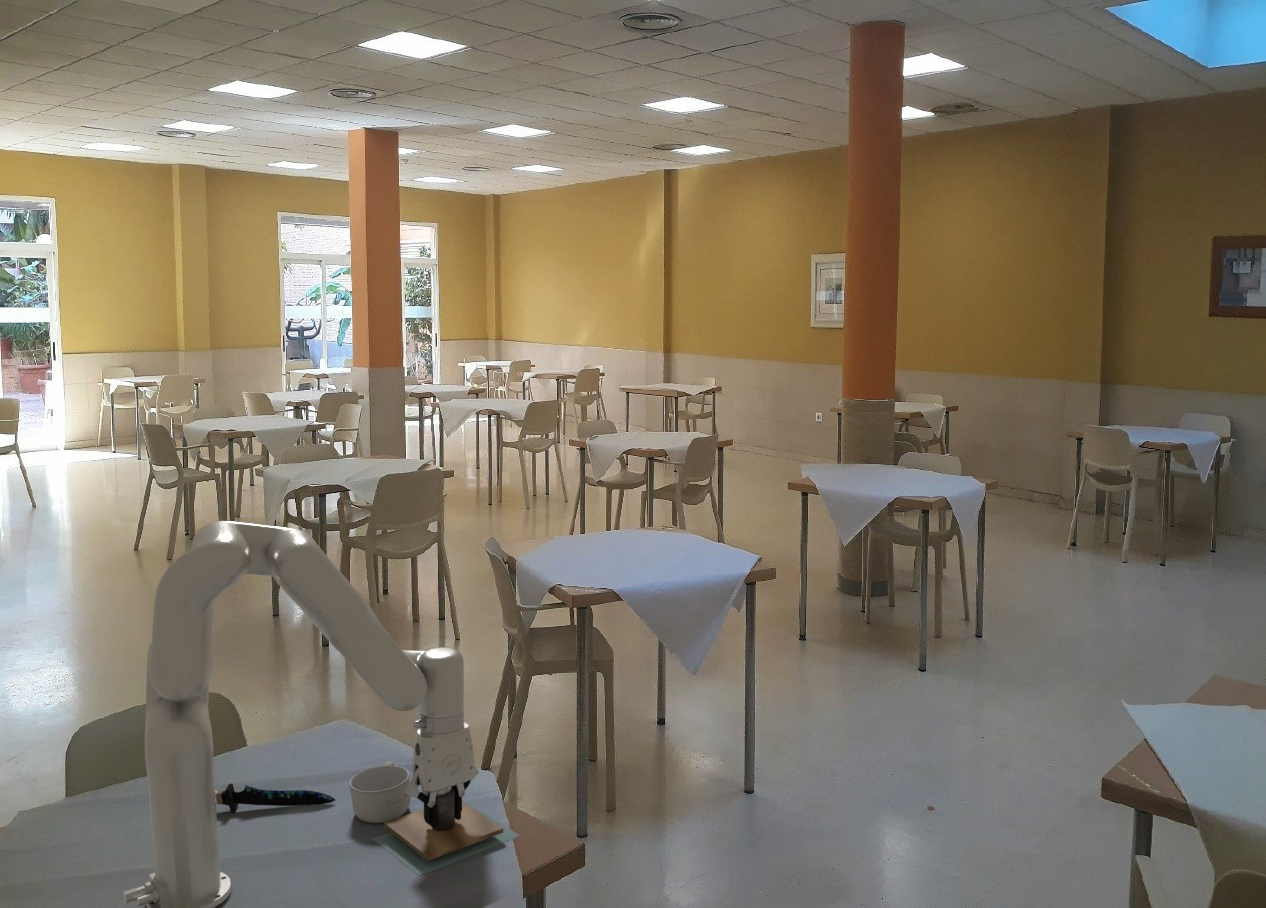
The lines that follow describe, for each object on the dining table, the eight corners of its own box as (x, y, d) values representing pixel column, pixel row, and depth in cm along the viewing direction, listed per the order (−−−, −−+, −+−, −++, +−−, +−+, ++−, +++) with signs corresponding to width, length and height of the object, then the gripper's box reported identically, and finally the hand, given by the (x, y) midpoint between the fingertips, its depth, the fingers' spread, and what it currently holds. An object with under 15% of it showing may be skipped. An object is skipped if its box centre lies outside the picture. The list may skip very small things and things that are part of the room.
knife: (163, 808, 198) (164, 786, 197) (169, 801, 201) (170, 778, 200) (331, 820, 200) (332, 797, 200) (334, 812, 203) (336, 790, 203)
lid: (427, 860, 177) (426, 821, 176) (383, 826, 188) (383, 790, 187) (503, 832, 187) (503, 795, 186) (457, 801, 198) (457, 766, 197)
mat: (419, 881, 175) (419, 875, 175) (373, 844, 187) (373, 838, 187) (520, 841, 188) (519, 835, 188) (470, 808, 200) (470, 803, 200)
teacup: (396, 834, 191) (395, 792, 190) (340, 828, 193) (338, 786, 192) (426, 799, 204) (425, 759, 203) (373, 793, 207) (372, 754, 205)
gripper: (409, 739, 176) (411, 844, 179) (495, 715, 187) (495, 814, 190) (387, 725, 182) (389, 827, 184) (471, 703, 193) (472, 799, 195)
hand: (443, 819), depth 187 cm, fingers closed on lid, 4 cm apart
